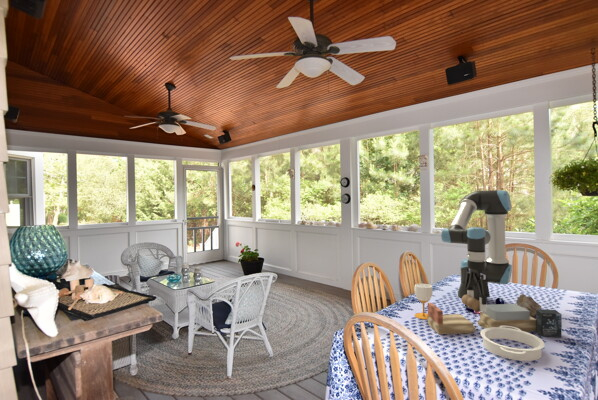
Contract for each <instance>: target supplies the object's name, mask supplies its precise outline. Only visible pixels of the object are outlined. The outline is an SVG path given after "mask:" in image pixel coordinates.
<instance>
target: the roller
mask: <svg viewBox="0 0 598 400" xmlns="http://www.w3.org/2000/svg"><path fill="white" fill-rule="evenodd" d="M461 303H462V304H463V305H465V306H467V307H468V308H469V309H472V310H473V311H474V312H479V313H480V312H481V311H480V301H479V300H477V299H475V298H473V297H471V296H470V295H464V296H463V297H462V298H461Z"/></svg>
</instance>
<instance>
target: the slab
mask: <svg viewBox="0 0 598 400" xmlns="http://www.w3.org/2000/svg"><path fill="white" fill-rule="evenodd" d="M482 312H483V313H484V314H486V315H487V316H489V317H491V318H492V319H494V320H495V321H500V320H530V311H529V310H527V309H525V308H523V307H521V306H518V305H517V303H504V304H503V303H500V304H499V303H498V304H486V311H482Z"/></svg>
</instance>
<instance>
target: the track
mask: <svg viewBox="0 0 598 400" xmlns="http://www.w3.org/2000/svg"><path fill="white" fill-rule="evenodd" d="M427 314H428V320H427V325H429V327H431V328H432V330H433V331H435V332H436V334H438V335H446V334H447V335H449V334H451V335H452V334H453V335H454V334H455V335H456V334H474V332H476V328H477V327H476V326H474V323H473V322H471V321H470V320H469V319H468V318H466V317H465V316H463V315H462V314H461V313H452V314H451V313H450V314H446V313H445V314H444V311H443V310H442V309H440V308H439V307H438V306H437V305H435V304H434V303H433V302H427ZM477 325H478V326H480V327H481V328H483V329H485V328H490V327H499V326H502V325H505V326H512V327H516V328H519V329H520V330H521V331H524V332H536V318H534V317H533V316H532V317H530V320H500V321H495V320H494V319H492V318H491V317H489V316H487V315H486V314H484V313H483V311H480V312H479V320H477ZM505 328H511V327H505ZM512 329H515V328H512ZM517 330H518V329H517Z"/></svg>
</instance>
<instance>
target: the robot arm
mask: <svg viewBox="0 0 598 400" xmlns="http://www.w3.org/2000/svg"><path fill="white" fill-rule="evenodd" d="M511 201H512V200H511V197H510V194H509V192H508V191H507V190H501V189H500V190H499V189H495V190H475V191H474V190H473V191H472V192H470V193H468V194H467V195H465V196H464V197H463V198H461V200H460V201H459V204H458V210H457V212H456V214H455V216H454V218H453V219H452V221H451V223H450V226H449V227H444V228H441V229H442V230H441V233H440V237H441V241H442V242H444V243H449V244H461V245H467V253H466V255H467V258H464V259H462V260H461V261H460V268H459V269H460V285H459V287H458V290H457V297H458V298H460V299H462V297H463V296H464V295H470V296H471V297H473V298H475V299H477V300H479V301H480V312H483V311H486V305H487V298H490V297H491V296H490V294H491V293H490V288H489V283H492V284H497V285H508V284H509V283H510V282H511V277H512V273H513V265H512V264H510V262H509V260H508V259H507V257H506V216H508V214H509V212H511V210H512V202H511ZM477 211H484V215H485V216H486V217H487V229H485V228H484V227H477V226H473V227H471V226H470V227H468V224H469V223H470V220H471V218H472V215H473V214H474V213H475V212H477ZM467 227H468V228H467ZM486 245H487V250H488V251H487V253H488V254H487V255H488V257H487V258H486Z"/></svg>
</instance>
